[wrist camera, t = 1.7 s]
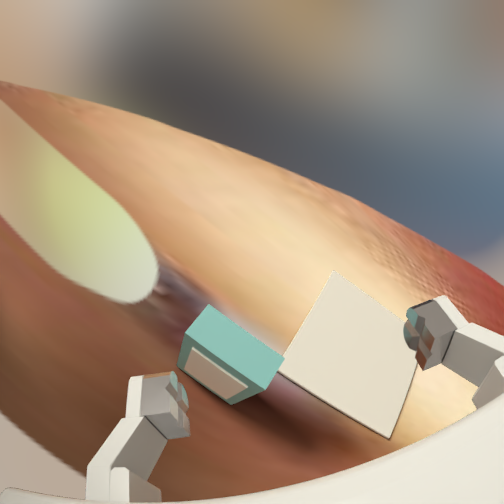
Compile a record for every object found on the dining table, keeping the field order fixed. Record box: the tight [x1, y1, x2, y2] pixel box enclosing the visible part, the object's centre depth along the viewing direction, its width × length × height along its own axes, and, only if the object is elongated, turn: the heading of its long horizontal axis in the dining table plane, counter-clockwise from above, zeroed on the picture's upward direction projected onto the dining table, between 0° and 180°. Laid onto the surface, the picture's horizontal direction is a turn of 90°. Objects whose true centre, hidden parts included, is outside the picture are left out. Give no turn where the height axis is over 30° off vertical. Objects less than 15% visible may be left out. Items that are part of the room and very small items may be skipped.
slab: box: [177, 304, 285, 405], centre depth 23 cm, size 6×3×10 cm, turn 57°
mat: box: [277, 270, 417, 438], centre depth 32 cm, size 15×14×1 cm
